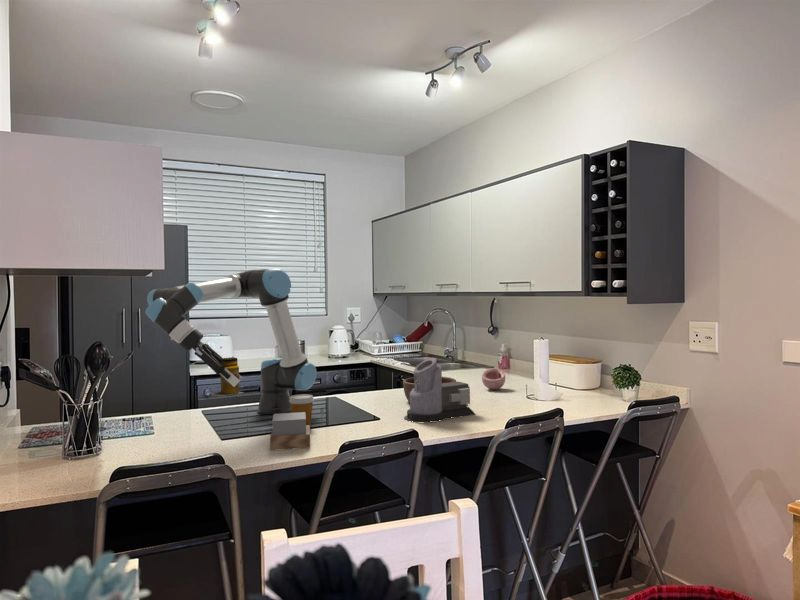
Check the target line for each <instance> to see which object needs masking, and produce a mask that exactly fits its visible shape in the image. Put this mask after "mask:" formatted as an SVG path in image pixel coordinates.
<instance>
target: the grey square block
mask: <svg viewBox="0 0 800 600" xmlns="http://www.w3.org/2000/svg"><path fill="white" fill-rule="evenodd" d="M271 424H272V428H273V436H280V435H295V434H306V415H305V412H297V413H292V412H286V413H280V414H272V423H271Z"/></svg>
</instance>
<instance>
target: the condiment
mask: <svg viewBox="0 0 800 600" xmlns="http://www.w3.org/2000/svg"><path fill="white" fill-rule="evenodd" d="M222 358H223V359H222V360H221V361H222V363H221V364H222V366H223V367H224V368H226V369H228V370H229V371H230V372H231V373H232V374H233V375H234V376H235V377H236V378H238V379H239V375H240V366H239V365H238V364H239V363H238V358H237V357H233V356H231V357H230V356H229V357H222ZM244 393H245V392H244V391H240V382H239V383H238V384H237V385H236V386H235V387H233V386H232V385H231V384H230V383H229V382H228V381H227V380H226V379H224V378H223V377H222V376H221V375H220V391H217V392H211V394H212V395H215V396H218V397H223V396H225V397H226V396H231V395H232V396H233V395H238V394H239V395H241V394H244Z"/></svg>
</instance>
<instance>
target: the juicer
mask: <svg viewBox="0 0 800 600" xmlns="http://www.w3.org/2000/svg"><path fill="white" fill-rule="evenodd" d="M442 370H443V369H442V365H440V364H438V359H437V358H436V357H430V358H428V359H425V360H423V361H422V362H420V363H419V364H418V365H416V366H415V368H414V370H413V377H414V388H413V389H412V391H411V392H410V402H409V409H407V411H406V415H405V416H404V417H403V419H404V421H406V420H407V421H406V422H409V421H411V422H410V423H414V422H430V421H439V420H443V419H445V418H449V419H452V418H451V417H456V418H461V417H460V416H463V417H468V416H474V415H475V416H476V413H475V412H474V410H472V409H471V407H469V404H471V388H470V386H469V383H466V382H463V381H462V382H461V381H456V382H450V383H442V377H443V376H442ZM445 420H446V419H445ZM412 421H413V422H412ZM443 421H444V420H443ZM439 422H440V421H439ZM430 423H431V422H430Z"/></svg>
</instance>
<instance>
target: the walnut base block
mask: <svg viewBox="0 0 800 600" xmlns="http://www.w3.org/2000/svg"><path fill="white" fill-rule="evenodd" d="M269 441H270V445H269V446H270V448H269V449H284V450H294V449H293V448H300V449H310V448H311V425H306V434H295V435H280V436H273V427H272V429H271V432H270V436H269Z"/></svg>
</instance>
